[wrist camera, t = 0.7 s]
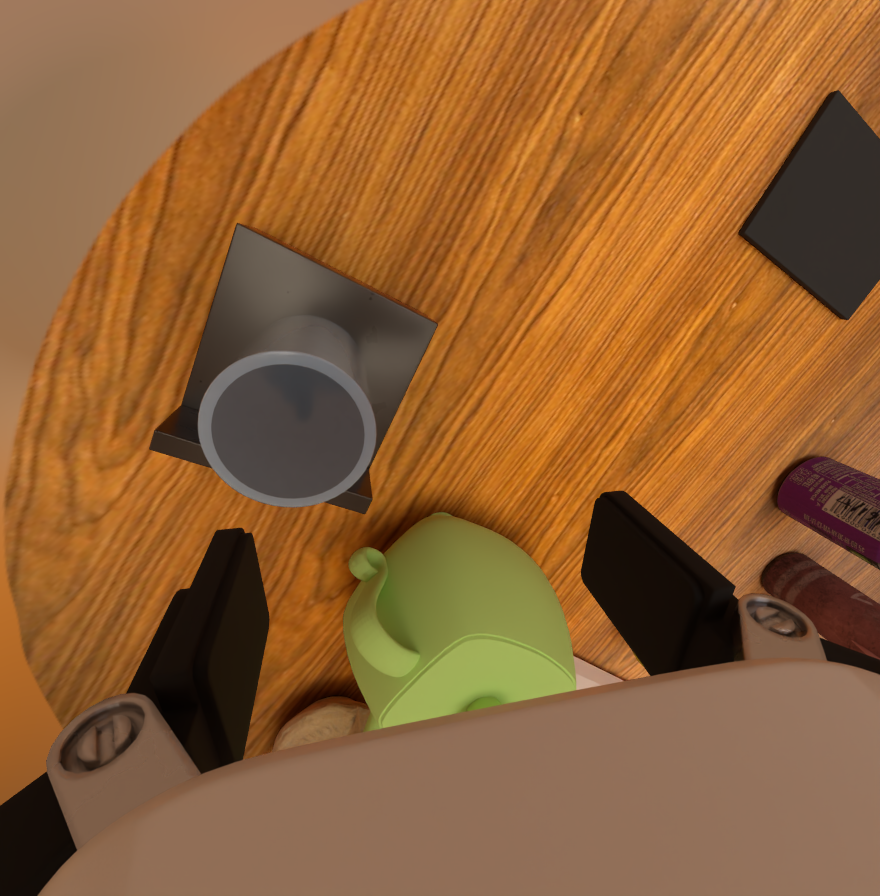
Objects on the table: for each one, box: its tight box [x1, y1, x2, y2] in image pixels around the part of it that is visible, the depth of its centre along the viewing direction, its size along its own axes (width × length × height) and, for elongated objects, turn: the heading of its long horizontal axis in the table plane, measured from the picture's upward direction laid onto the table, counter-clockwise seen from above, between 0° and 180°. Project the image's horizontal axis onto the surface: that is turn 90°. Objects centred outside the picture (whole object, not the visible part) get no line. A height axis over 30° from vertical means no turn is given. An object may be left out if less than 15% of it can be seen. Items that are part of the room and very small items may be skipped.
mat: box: [739, 90, 880, 320], centre depth 34 cm, size 15×10×1 cm, turn 63°
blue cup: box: [198, 315, 377, 507], centre depth 21 cm, size 7×7×10 cm
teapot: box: [343, 512, 576, 732], centre depth 35 cm, size 25×22×16 cm
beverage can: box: [777, 457, 880, 570], centre depth 41 cm, size 7×7×12 cm
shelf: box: [149, 223, 438, 514], centre depth 26 cm, size 12×12×9 cm
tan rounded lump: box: [272, 696, 371, 752], centre depth 43 cm, size 11×15×8 cm
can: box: [762, 552, 880, 660], centre depth 45 cm, size 6×6×14 cm
